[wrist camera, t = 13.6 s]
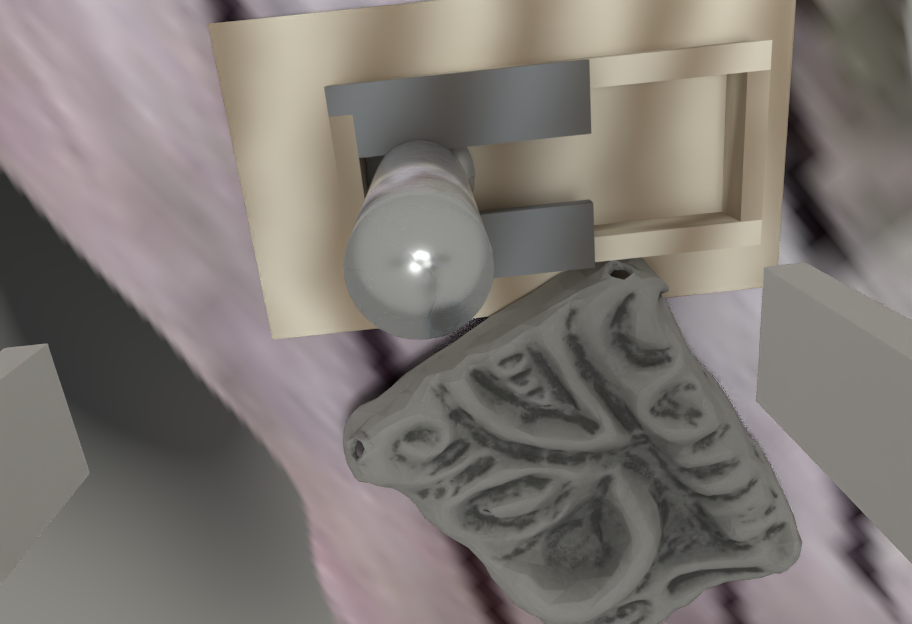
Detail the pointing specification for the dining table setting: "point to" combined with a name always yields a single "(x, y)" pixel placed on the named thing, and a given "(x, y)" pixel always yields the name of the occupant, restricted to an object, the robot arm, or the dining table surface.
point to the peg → (419, 243)
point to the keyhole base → (628, 165)
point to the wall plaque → (582, 455)
